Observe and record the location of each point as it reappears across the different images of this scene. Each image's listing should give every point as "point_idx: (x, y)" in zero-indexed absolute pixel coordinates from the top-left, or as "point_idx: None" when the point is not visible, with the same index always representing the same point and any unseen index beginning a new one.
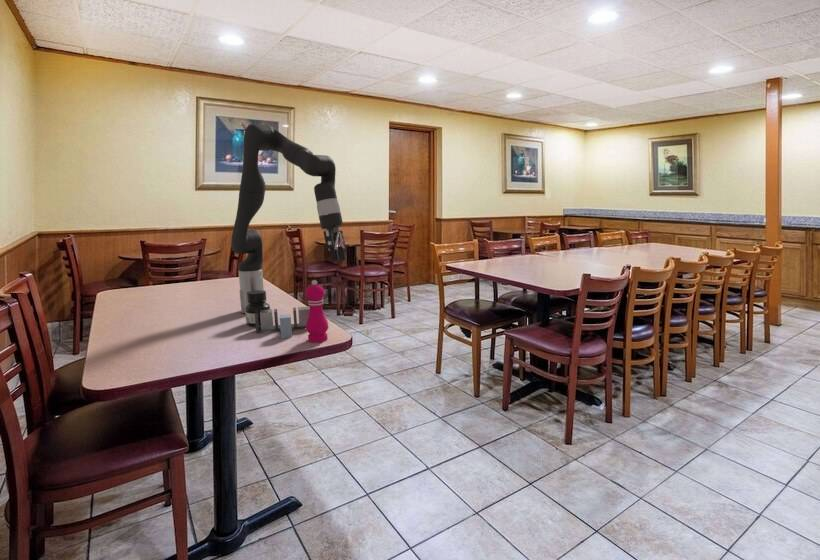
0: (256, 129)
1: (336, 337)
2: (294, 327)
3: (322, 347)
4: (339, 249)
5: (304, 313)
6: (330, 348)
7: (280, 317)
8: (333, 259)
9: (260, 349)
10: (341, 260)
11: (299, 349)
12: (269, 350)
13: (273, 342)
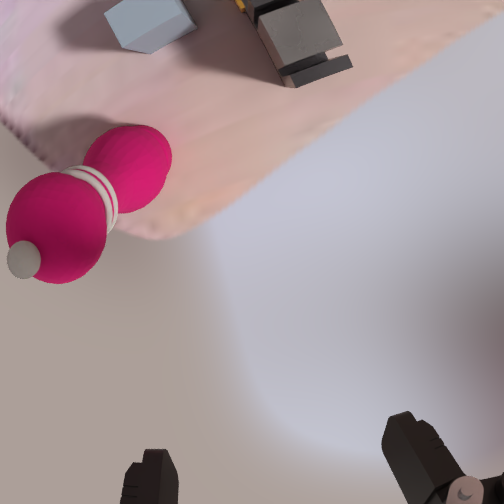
0: None
1: (178, 205)
2: (248, 14)
3: None
4: (436, 500)
5: (271, 43)
6: None
7: (115, 8)
8: (135, 471)
9: (34, 41)
10: (387, 423)
11: (53, 147)
12: (31, 70)
13: (92, 29)
